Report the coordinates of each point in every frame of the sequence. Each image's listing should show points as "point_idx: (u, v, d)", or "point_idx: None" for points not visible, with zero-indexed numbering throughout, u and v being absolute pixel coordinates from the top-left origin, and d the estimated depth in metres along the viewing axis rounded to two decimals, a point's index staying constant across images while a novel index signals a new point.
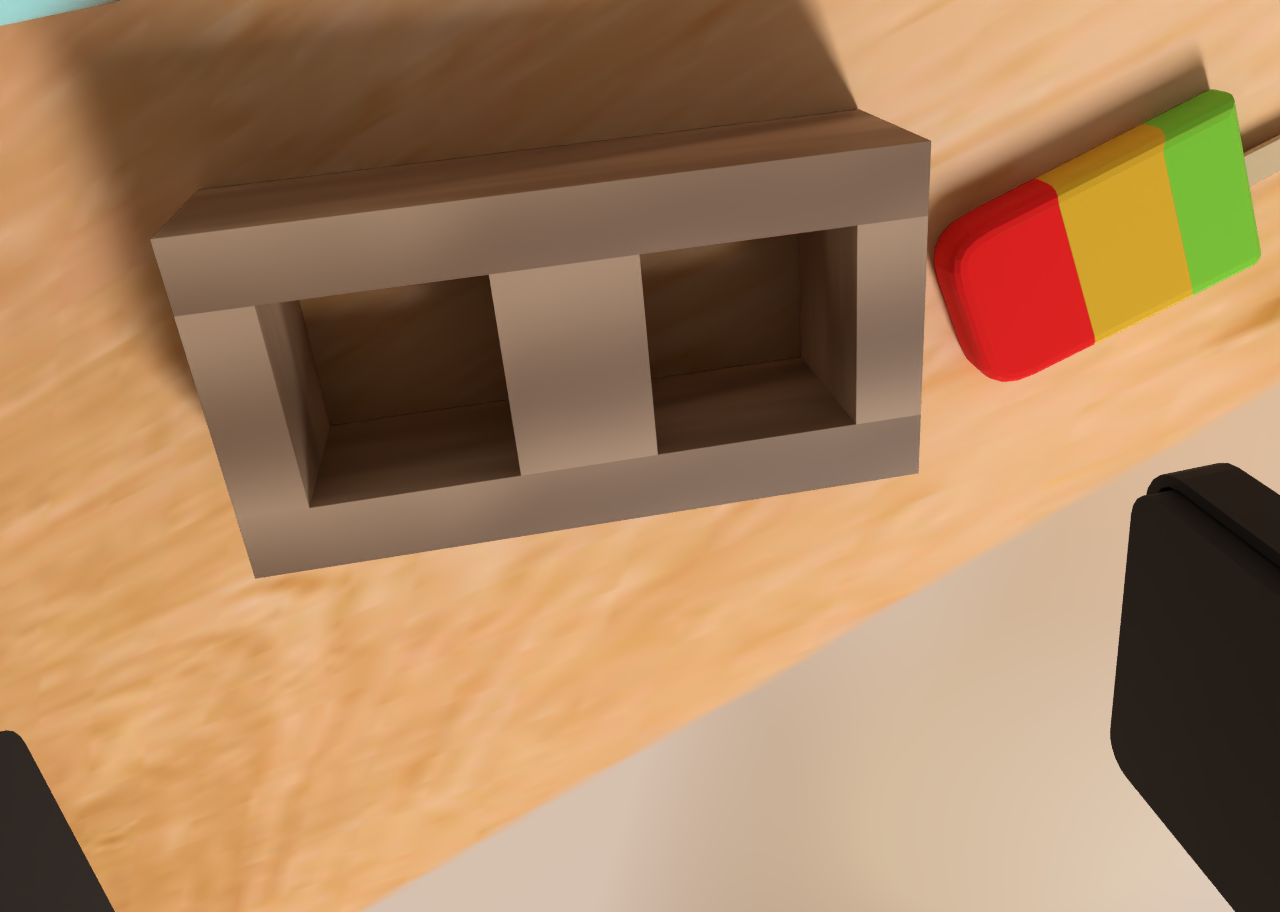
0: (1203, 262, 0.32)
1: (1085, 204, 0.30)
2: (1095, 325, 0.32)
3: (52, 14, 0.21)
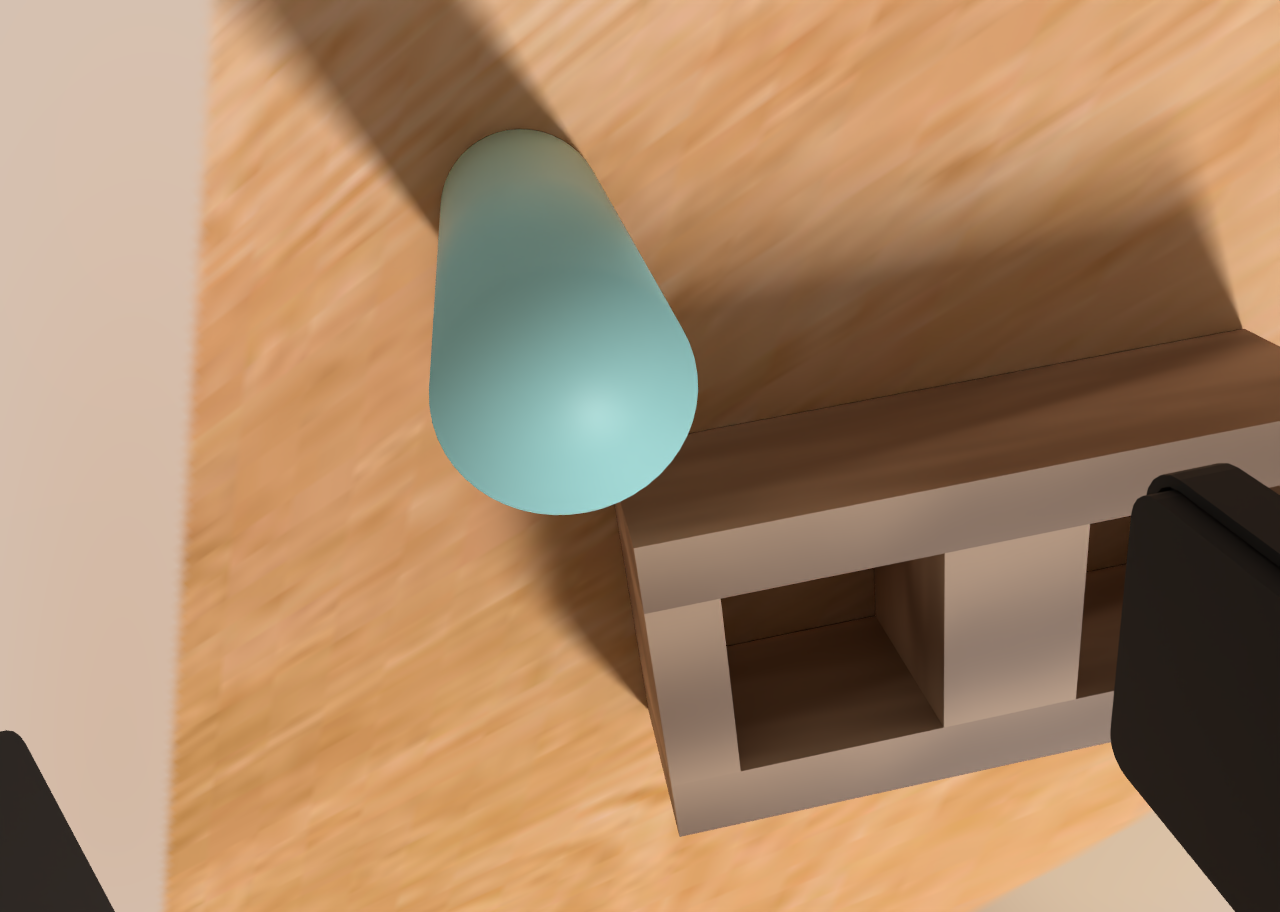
0: None
1: None
2: None
3: None
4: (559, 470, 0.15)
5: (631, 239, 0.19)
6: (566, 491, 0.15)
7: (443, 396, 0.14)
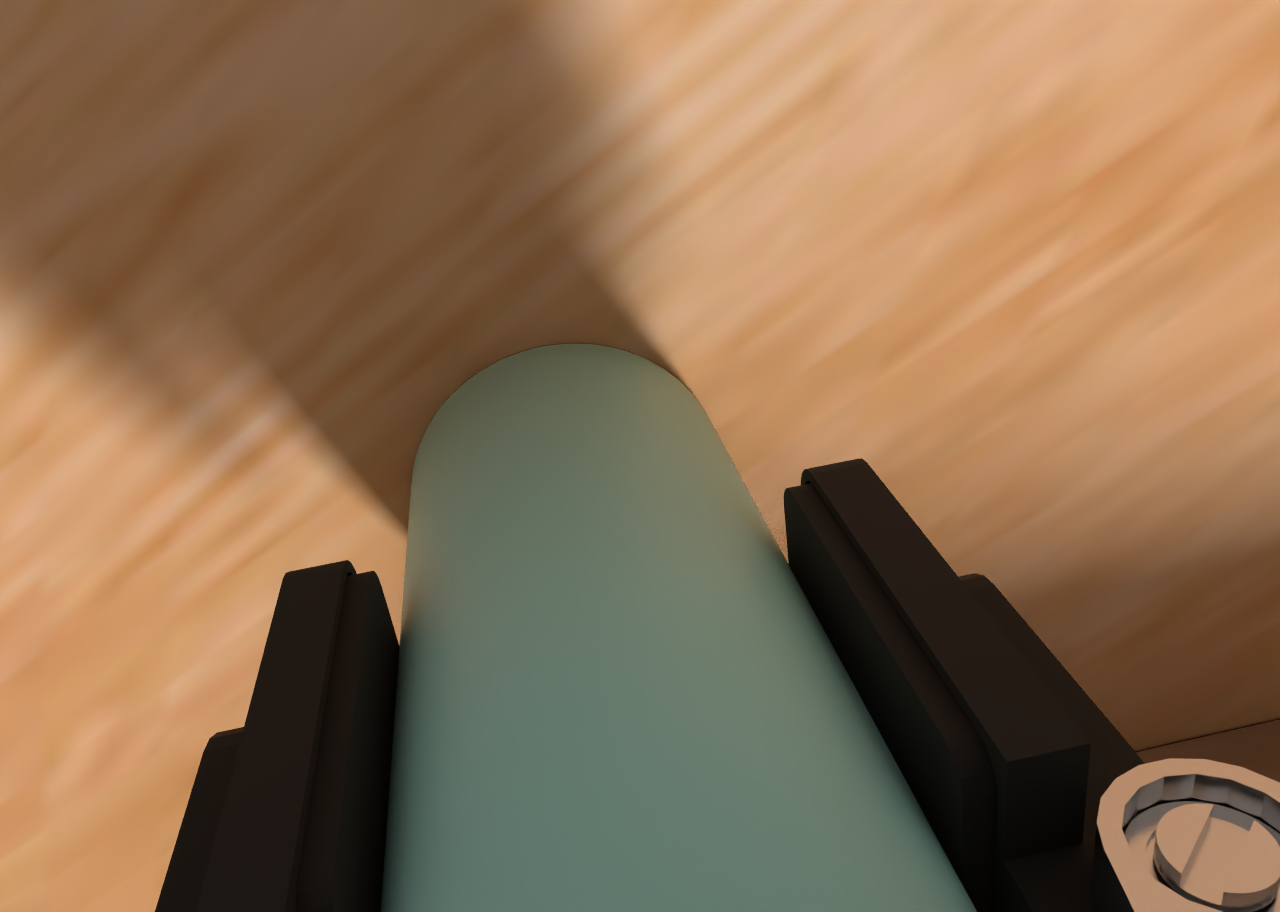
0: None
1: None
2: None
3: None
4: None
5: (911, 793, 0.07)
6: None
7: None
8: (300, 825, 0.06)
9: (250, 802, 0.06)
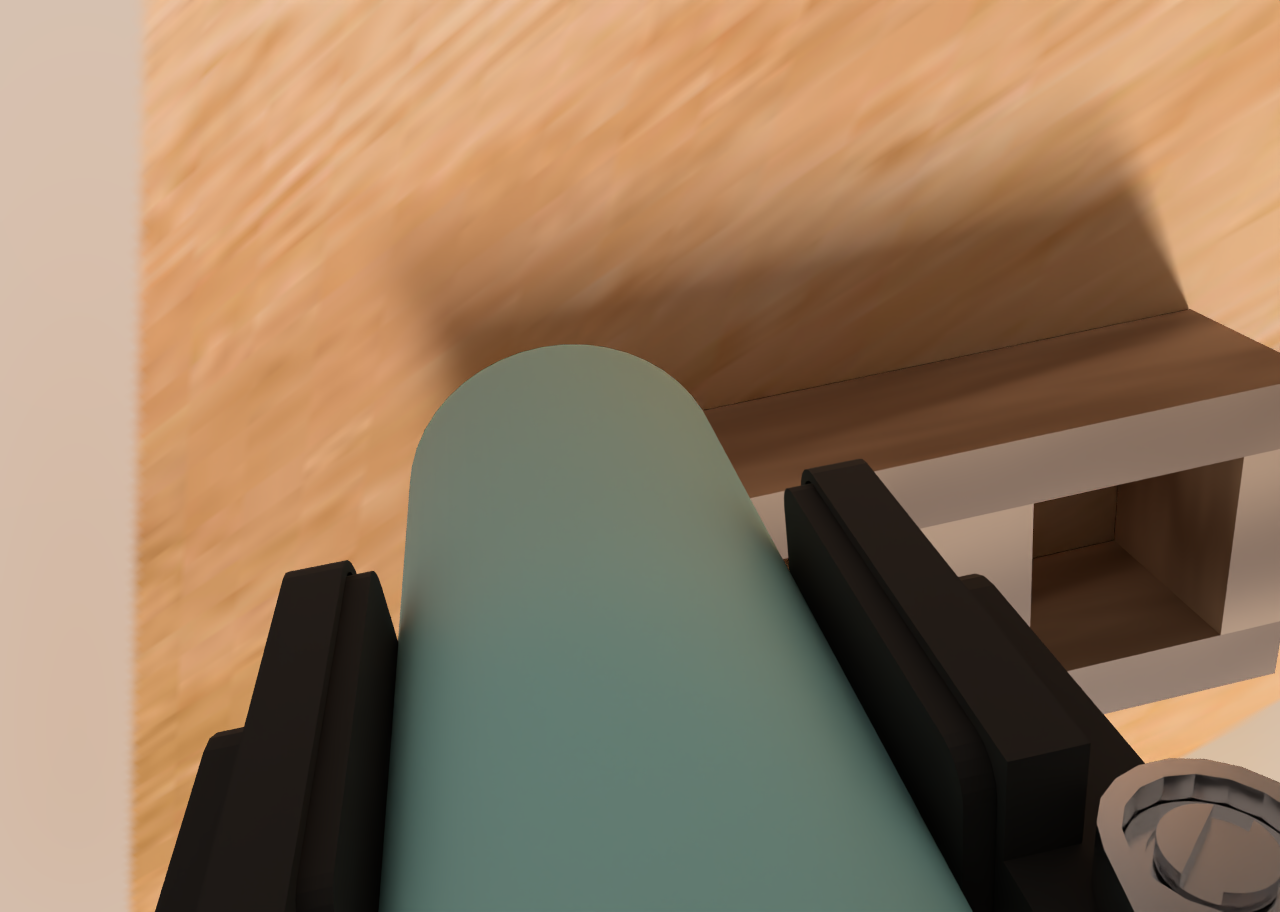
0: None
1: None
2: None
3: None
4: None
5: (908, 794, 0.07)
6: None
7: None
8: (298, 825, 0.06)
9: (249, 802, 0.06)
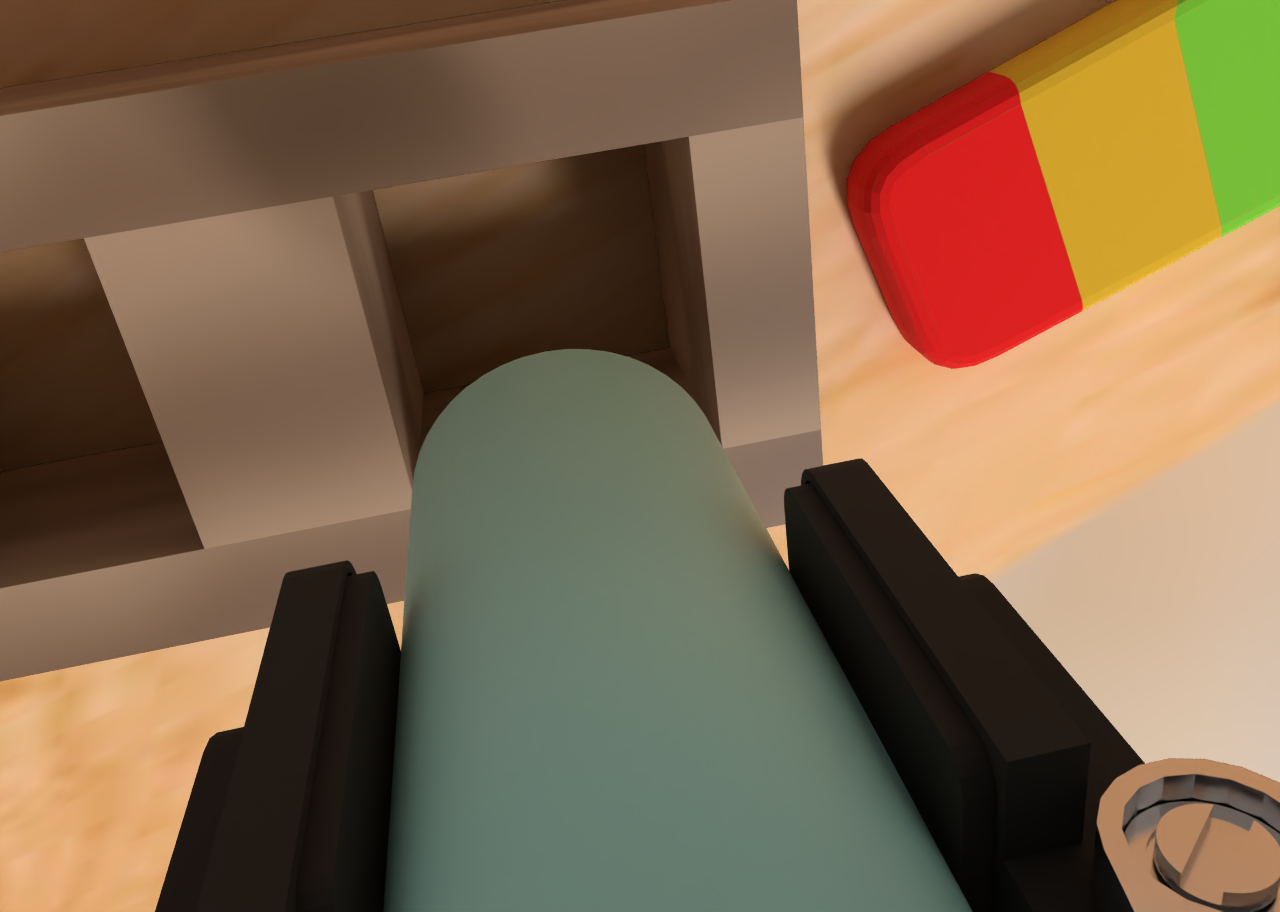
0: (1237, 187, 0.22)
1: (1061, 104, 0.20)
2: (1082, 284, 0.22)
3: None
4: None
5: (911, 800, 0.07)
6: None
7: None
8: (300, 825, 0.06)
9: (250, 802, 0.06)
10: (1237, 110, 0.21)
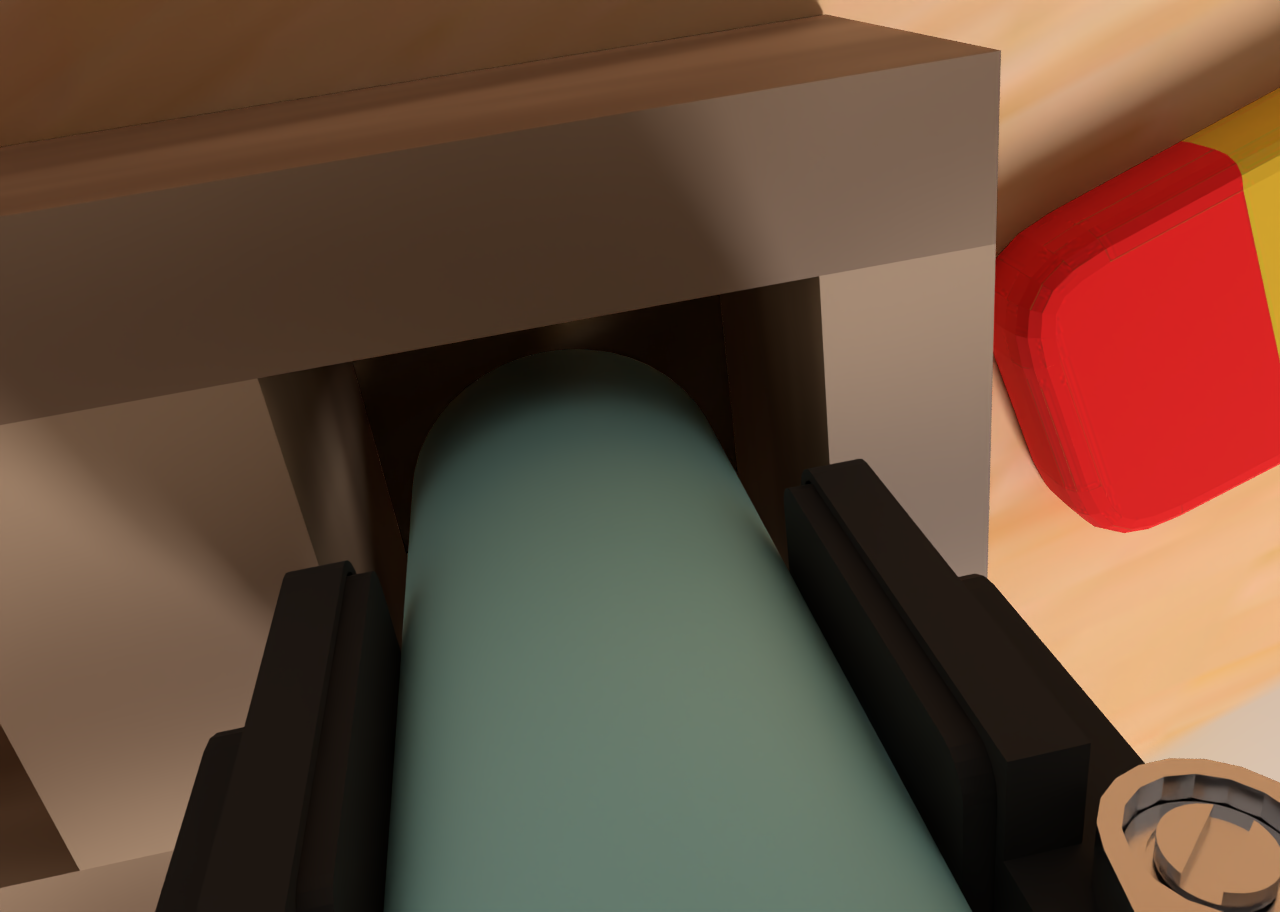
0: None
1: None
2: None
3: None
4: None
5: (911, 800, 0.07)
6: None
7: None
8: (300, 827, 0.06)
9: (250, 803, 0.06)
10: None
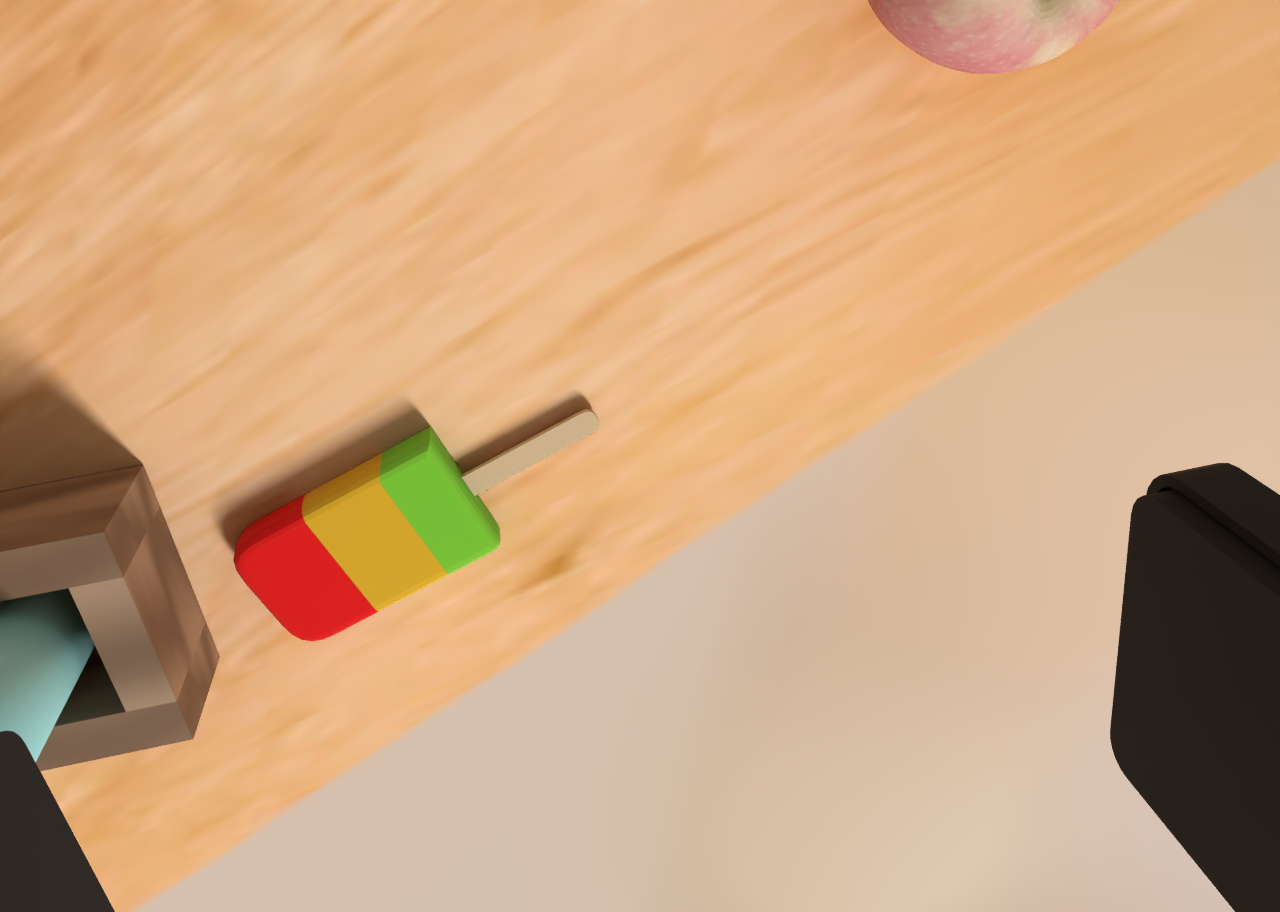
0: (446, 552, 0.41)
1: (328, 521, 0.39)
2: (371, 600, 0.41)
3: None
4: None
5: (46, 664, 0.35)
6: None
7: None
8: None
9: None
10: (432, 518, 0.40)
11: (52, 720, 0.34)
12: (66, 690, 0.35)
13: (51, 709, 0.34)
